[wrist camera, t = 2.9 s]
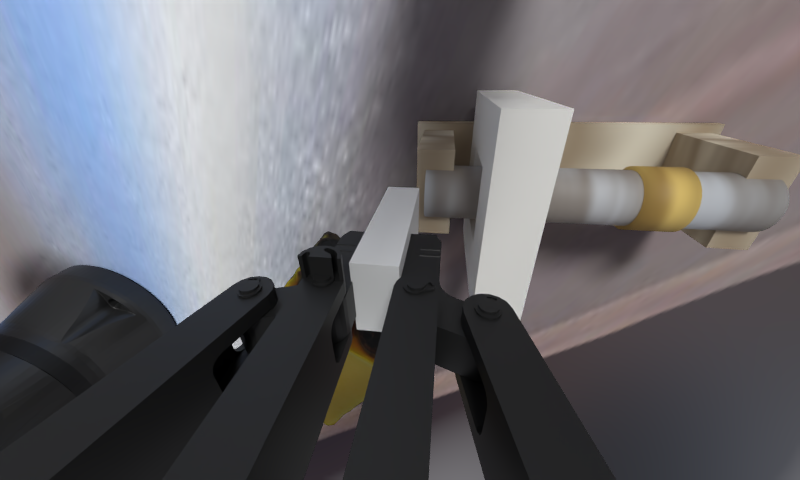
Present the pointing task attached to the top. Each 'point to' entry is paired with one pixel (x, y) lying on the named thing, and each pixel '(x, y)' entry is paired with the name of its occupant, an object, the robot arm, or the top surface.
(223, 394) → the robot arm
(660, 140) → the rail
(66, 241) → the top surface
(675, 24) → the top surface
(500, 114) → the upright white plank
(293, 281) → the yellow cube with hole
